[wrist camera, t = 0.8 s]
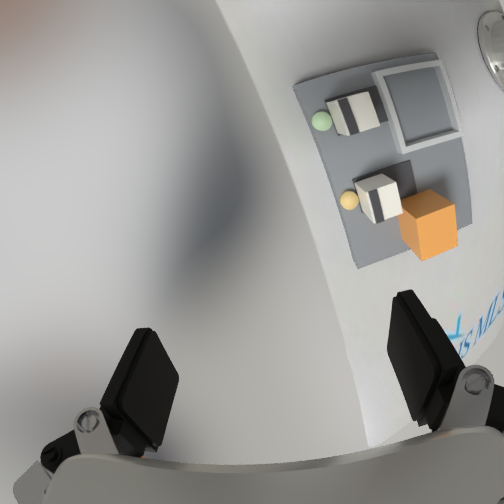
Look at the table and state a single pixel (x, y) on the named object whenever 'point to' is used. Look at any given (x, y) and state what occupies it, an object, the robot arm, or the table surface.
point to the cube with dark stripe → (379, 198)
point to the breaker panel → (390, 144)
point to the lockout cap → (428, 224)
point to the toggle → (353, 114)
